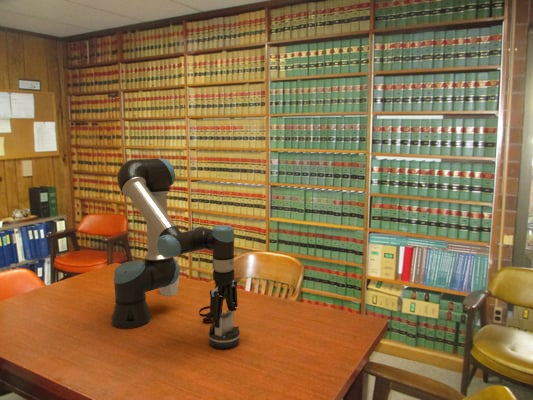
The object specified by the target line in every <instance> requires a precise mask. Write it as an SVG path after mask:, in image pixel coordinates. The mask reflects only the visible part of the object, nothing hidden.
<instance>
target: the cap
mask: <svg viewBox="0 0 533 400" xmlns="http://www.w3.org/2000/svg"><path fill="white" fill-rule="evenodd" d="M221 318H222V336H226V333H228V332H232V331H233V330H234V327H235V324H234V323H235V322H234V320H235V319H234V318H235V314H234V315H233V314H231V313H226V312H222V313H221Z"/></svg>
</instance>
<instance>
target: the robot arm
mask: <svg viewBox="0 0 533 400" xmlns="http://www.w3.org/2000/svg"><path fill="white" fill-rule="evenodd" d="M116 176H117V177H116V181H117V186H118V188H119V190H120V192H121V193H122V194H123V196H124V197H126V198H129V200H131V202H132V203H133V205H134V206H135V208H136V209H137V210H138V212H139V213H140V215H141V216H142V218H143V219H144V220H145V223H146V240H147V241H146V242H147V253H146V254H145V255H144V261H142V260H133V261H131V260H130V261H127V262H123V263H121V264H119V265H117V266H116V267H115V270H113V271H114V274H113V282H114V283H113V284H114V299H115V304H114V307H113V312H112V315H111V319H110V320H111V325H112V326H113V327H115V328H119V329H134V328H139V327H142V326H145V325H147V324H148V323H149V322H150V321H151V320H152V319H151V318H152V313H151V311H150V308H149V306H148V303H147V300H146V297H147V295H146V293H149V292H151V291H154V290H158V289H160V288H162V287H167V286H169V285H171V284H173V283H175V281H176V280H177V279H178V276H179V277H180V264H179V263H178V260H177V259H176V258H175V257H177V256H179V255H184V254H188V253H189V254H190V253H194V252H197V251H202V250H207V251H211V252H212V269H213V271H212V280H213V281H214V283H215V286H214V289H213V290H212V289H210V291H209V296H210V303H209V306H210V308H209V312H210V318H211V319H212V318H213V319H214V323H213V324H214V327H215V335H217V336H222V318H221V312H222V313H223V309H222V308H223V306H224V300H225V303H226V307H227V309H226V311H225V313H231V314H233V315H234V316H235V312H236V311H237V308H238V306H239V305H238V290H237V289H238V281H237V280H235V231H234V227H233V226H231V225H227V224H226V225H225V224H218V225H215V226H213V227H212V228H207V227H204V226H195V227H193V228H192V229H190V230H186V231H181V230H180V229H179V228H178V226H177V225H176V224H175V222H174V221H173V220H172V219H171V217H170V216H169V214H168V201H167V198H168V197H167V195H168V193H170V192H171V189H170V188H171V187H172V186H173V185H174V184H175V181H176V171H175V167H174V166H173V164H172V163H171V162H170V161H169V160H168V159H165V158H157V157H156V158H140V159H138V158H135V159H134V158H133V159H130V160H127V161H125V162H124V163H123V164H121V166H120V168H119V169H118V172H117V175H116Z"/></svg>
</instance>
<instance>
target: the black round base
mask: <svg viewBox="0 0 533 400" xmlns="http://www.w3.org/2000/svg"><path fill="white" fill-rule="evenodd" d="M208 330H209V331H208V345H209V347H211V348H213V350H219V351H220V350H221V351H225V350H232V349H234V348H237V347H238V346H239V345H240V341H241V340H240V337H241V335H240V334H241V332H240V326H234V330H233V331H232V332H228V333H226V336H217V335H215V327H214V323H213V324H212V325H210V326H209V329H208Z"/></svg>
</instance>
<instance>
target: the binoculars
mask: <svg viewBox="0 0 533 400" xmlns="http://www.w3.org/2000/svg"><path fill="white" fill-rule="evenodd" d="M223 308H224V307H222V310H223ZM208 309H209V310H210V305H208V306H207V305H206V306H204V307H202V308H200V309H199V310H198V313H199V316H200V317H202V322H203V323H209V322H212V323H213V324H214V319H213V318H210V311H209V312H207V313H201V312H203V311H204V310H208ZM221 313H223V311H222V312H221Z"/></svg>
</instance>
